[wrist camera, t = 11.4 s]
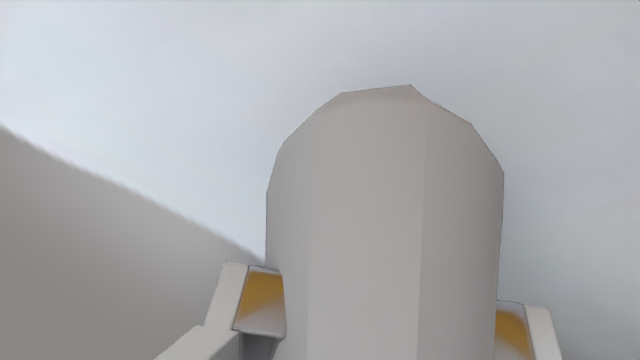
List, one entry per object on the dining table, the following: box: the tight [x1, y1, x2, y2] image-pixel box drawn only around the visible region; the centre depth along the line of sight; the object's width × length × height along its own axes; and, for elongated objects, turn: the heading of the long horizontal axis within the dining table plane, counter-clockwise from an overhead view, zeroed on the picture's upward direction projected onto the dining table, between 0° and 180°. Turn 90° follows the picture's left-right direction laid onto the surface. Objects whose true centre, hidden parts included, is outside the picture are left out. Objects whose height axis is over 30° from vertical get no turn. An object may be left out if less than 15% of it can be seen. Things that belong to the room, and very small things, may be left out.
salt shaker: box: [265, 85, 504, 360], centre depth 11 cm, size 6×6×13 cm
